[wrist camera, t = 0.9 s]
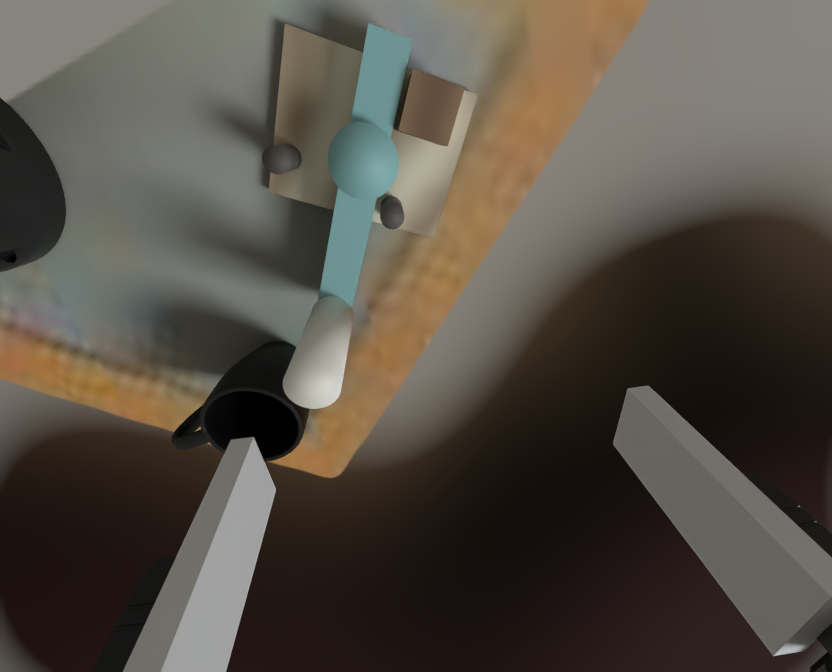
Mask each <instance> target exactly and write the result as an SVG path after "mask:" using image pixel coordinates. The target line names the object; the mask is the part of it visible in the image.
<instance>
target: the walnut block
mask: <svg viewBox="0 0 832 672" xmlns="http://www.w3.org/2000/svg"><path fill="white" fill-rule="evenodd" d="M464 90H465V88H464V87H461V86H459V85H456V84H453V83H451V82H448V81H445V80H443V79H440V78H437V77H435V76H432V75H429V74H427V73H424V72H421V71H418V70H416V69H413V70H412V72H411V75H410V77H409V81H408V85H407V90H406V94H405V98H404V102H403V107H402V111H401V115H400V120H399V124H398V128H397V131H399V132H402V133H405V134H408V135H411V136H414V137H417V138H420V139H423V140H426V141H429V142H432V143H435V144H438V145H441V146H448V144H449V141H450V137H451V134H452V130H453V127H454V124H455V120H456V117H457V113H458V110H459V107H460V103H461V100H462V96H463V93H464Z"/></svg>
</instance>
